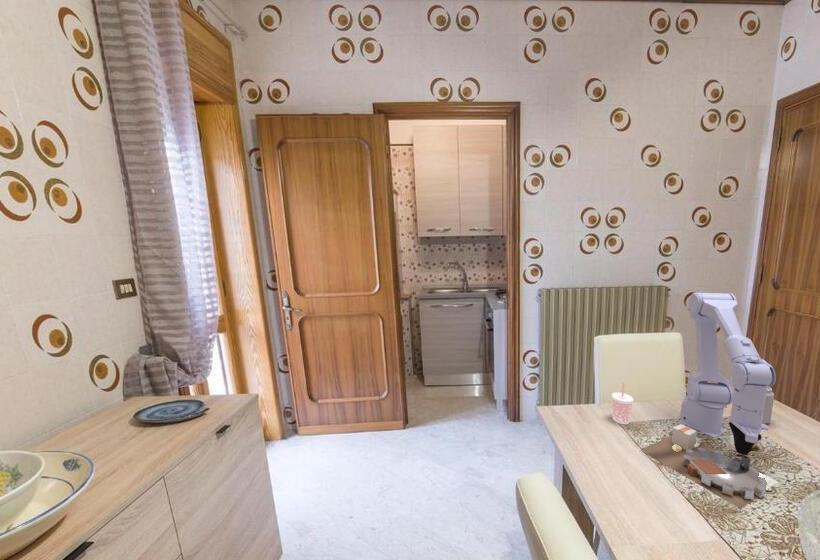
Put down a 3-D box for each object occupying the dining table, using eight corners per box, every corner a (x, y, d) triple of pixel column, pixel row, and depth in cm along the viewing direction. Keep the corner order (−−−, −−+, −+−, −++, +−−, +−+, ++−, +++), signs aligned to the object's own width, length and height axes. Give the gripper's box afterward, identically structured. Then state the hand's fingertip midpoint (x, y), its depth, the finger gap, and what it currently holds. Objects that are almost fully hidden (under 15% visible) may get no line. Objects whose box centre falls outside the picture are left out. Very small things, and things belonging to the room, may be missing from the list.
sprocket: (670, 464, 87) (672, 447, 86) (702, 448, 93) (704, 431, 92) (746, 508, 73) (749, 488, 72) (777, 485, 79) (781, 466, 78)
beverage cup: (623, 429, 104) (626, 389, 102) (605, 419, 109) (608, 381, 107) (635, 424, 106) (639, 384, 104) (617, 414, 112) (620, 377, 110)
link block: (671, 442, 96) (673, 427, 95) (679, 439, 97) (681, 423, 96) (687, 450, 92) (689, 434, 91) (695, 446, 94) (697, 430, 93)
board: (639, 451, 93) (640, 450, 93) (678, 433, 101) (678, 432, 100) (740, 511, 73) (740, 508, 73) (779, 483, 80) (779, 481, 80)
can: (735, 410, 112) (739, 378, 110) (766, 417, 108) (771, 383, 106) (740, 420, 106) (744, 387, 104) (773, 428, 102) (778, 393, 100)
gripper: (779, 424, 76) (771, 475, 78) (762, 398, 87) (755, 443, 89) (737, 415, 80) (730, 464, 82) (726, 391, 92) (721, 434, 94)
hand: (741, 452), depth 86 cm, fingers closed
